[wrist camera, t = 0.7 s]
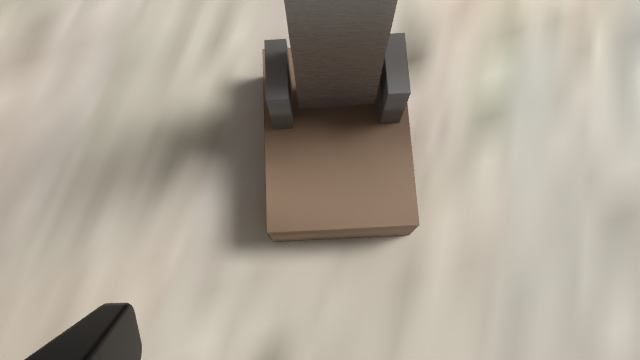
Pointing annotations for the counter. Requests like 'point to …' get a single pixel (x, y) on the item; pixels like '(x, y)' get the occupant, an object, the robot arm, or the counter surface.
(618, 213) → the counter surface
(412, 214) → the stand
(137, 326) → the robot arm
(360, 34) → the nutcracker lever
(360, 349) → the counter surface
